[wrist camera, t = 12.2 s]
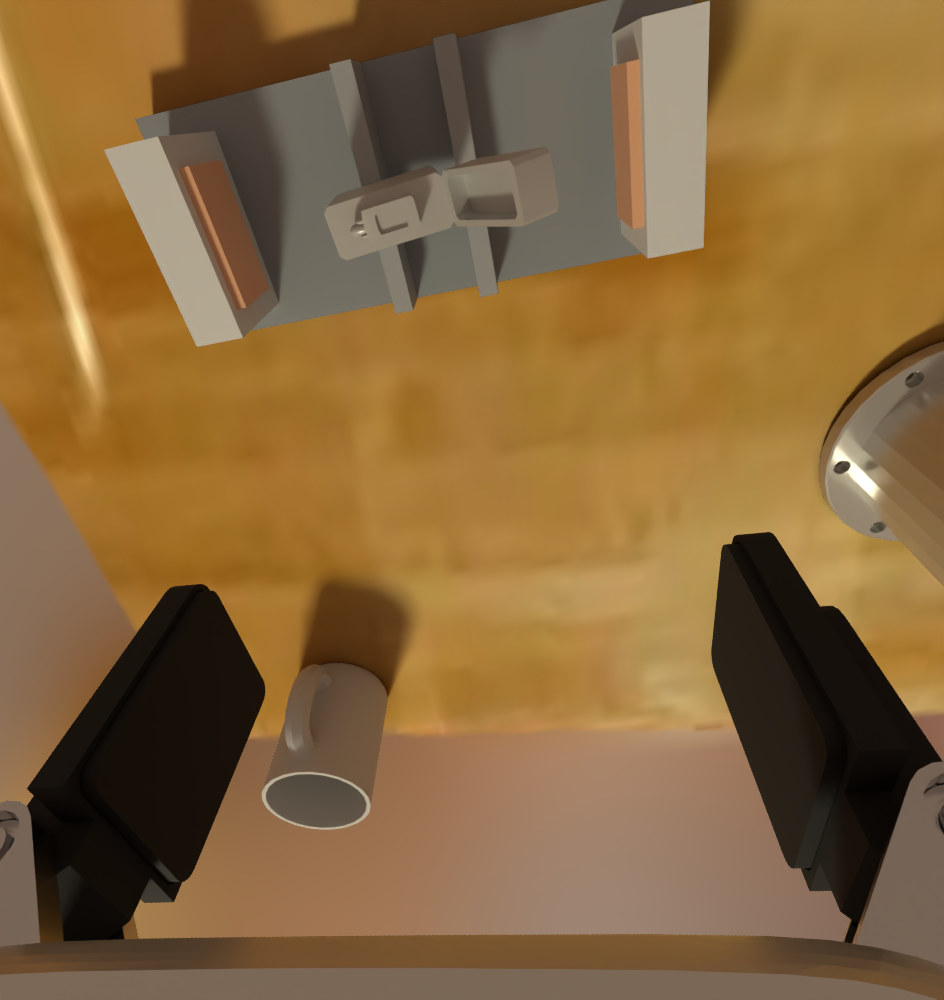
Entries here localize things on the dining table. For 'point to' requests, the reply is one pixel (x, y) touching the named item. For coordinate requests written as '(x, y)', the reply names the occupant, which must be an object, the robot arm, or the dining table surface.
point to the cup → (327, 748)
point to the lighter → (444, 201)
